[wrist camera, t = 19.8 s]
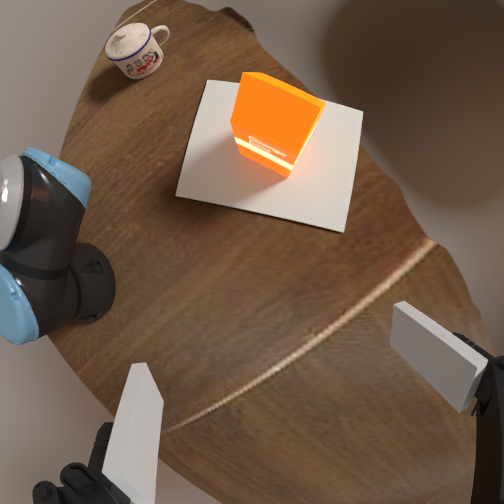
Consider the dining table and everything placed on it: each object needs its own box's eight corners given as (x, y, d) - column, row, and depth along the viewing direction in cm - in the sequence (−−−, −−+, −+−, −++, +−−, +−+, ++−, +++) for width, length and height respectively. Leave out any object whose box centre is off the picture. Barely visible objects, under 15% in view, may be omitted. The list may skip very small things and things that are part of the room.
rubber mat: (176, 196, 46) (175, 195, 45) (208, 81, 44) (207, 79, 43) (342, 232, 45) (343, 232, 44) (362, 113, 43) (363, 111, 43)
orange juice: (287, 179, 44) (305, 139, 24) (239, 154, 44) (221, 100, 24) (309, 139, 43) (337, 80, 24) (262, 115, 44) (259, 46, 24)
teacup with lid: (132, 88, 45) (105, 61, 33) (118, 63, 44) (93, 36, 33) (184, 55, 44) (167, 20, 32) (167, 32, 43) (149, -1, 32)
